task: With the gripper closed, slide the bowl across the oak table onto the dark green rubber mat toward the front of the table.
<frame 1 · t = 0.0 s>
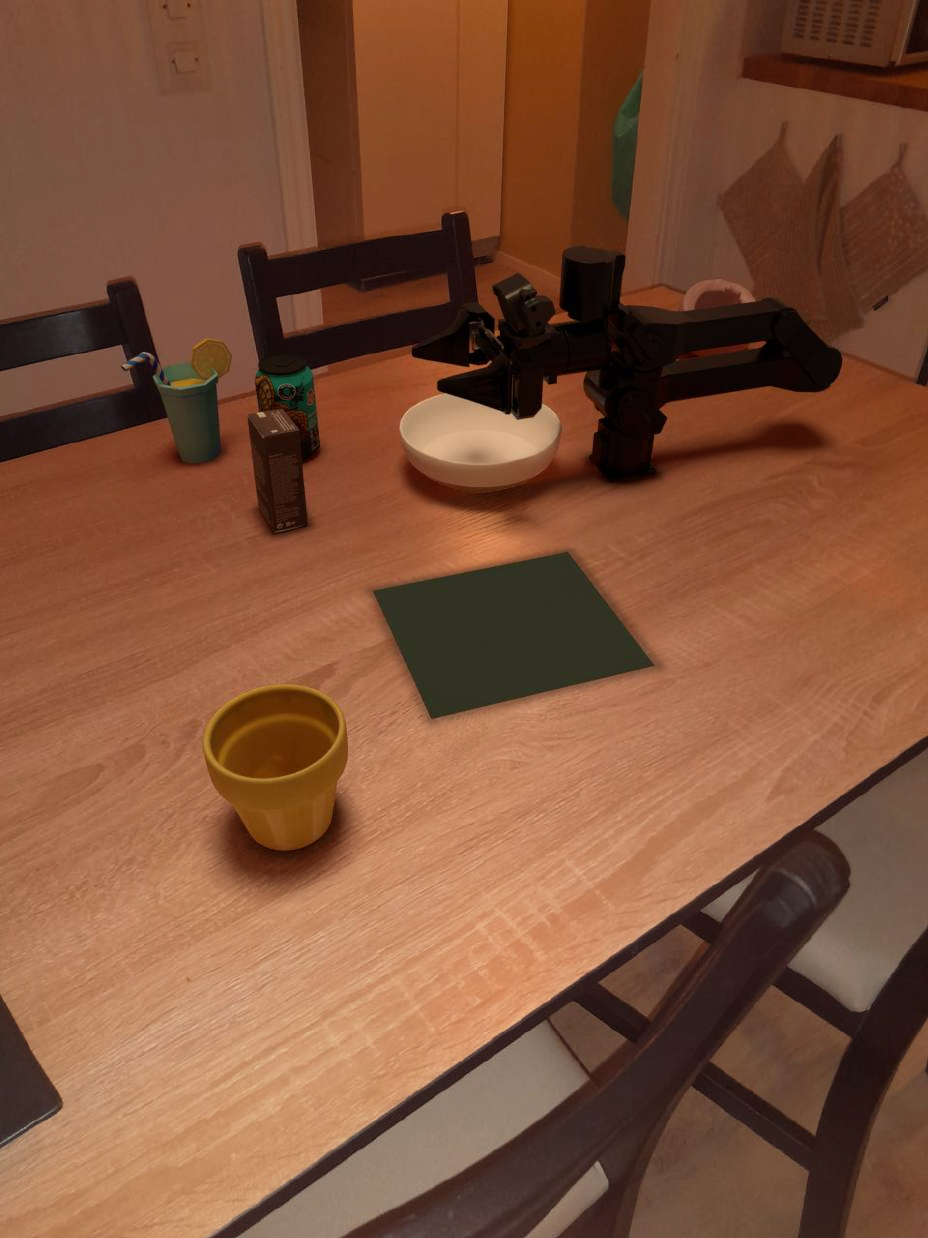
hand: (424, 368, 104), 17 cm above the table, tool horizontal, fingers open, 9 cm apart
cup: (194, 457, 122), on the table
mat: (506, 627, 96), on the table
bowl: (479, 471, 120), on the table
mortar and pestle: (711, 358, 147), on the table
box: (284, 518, 111), on the table
flower pot: (289, 819, 76), on the table
green cylinder: (293, 453, 123), on the table
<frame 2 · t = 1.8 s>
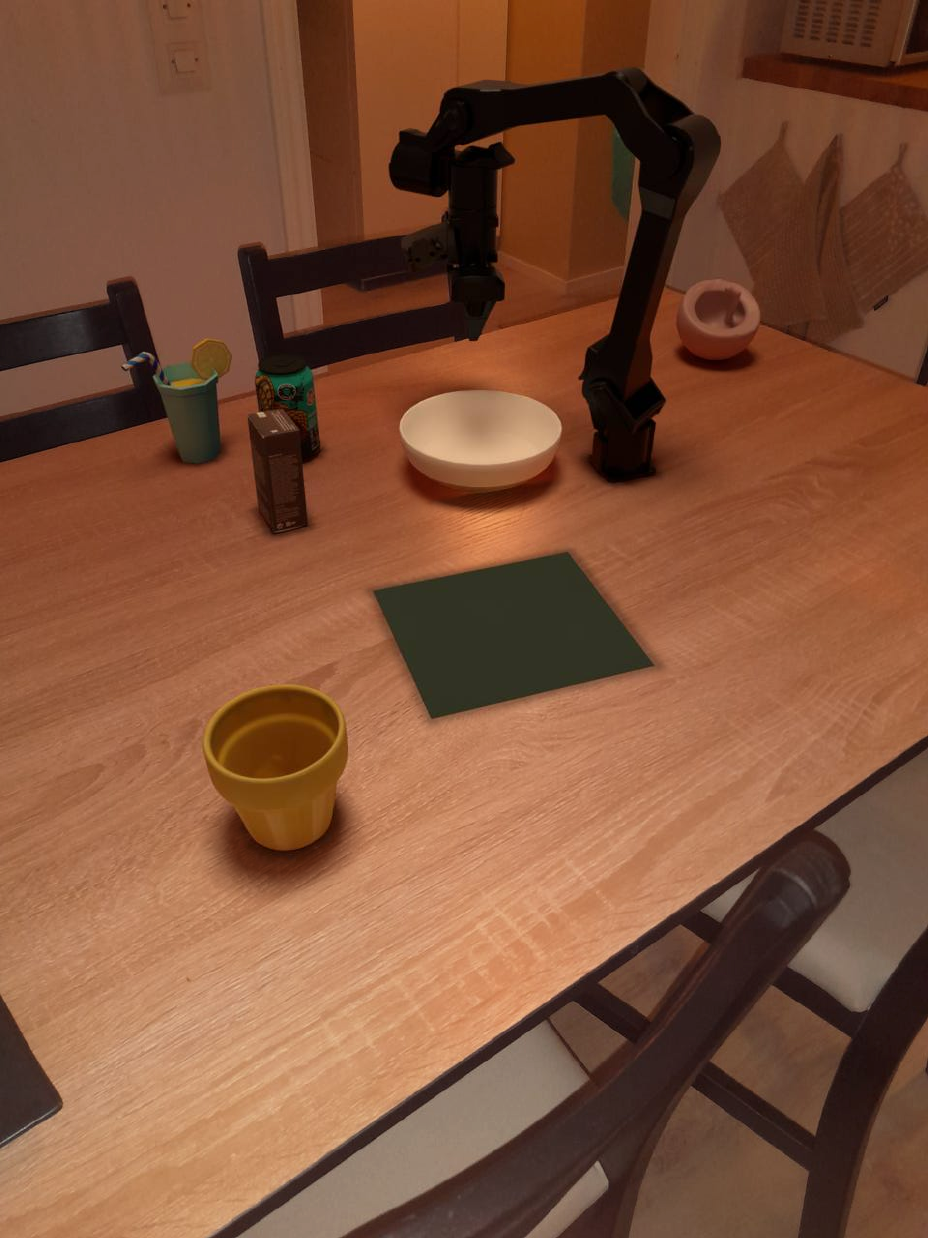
hand: (471, 332, 123), 12 cm above the table, tool pointing down, fingers open, 5 cm apart
nothing on the table moved.
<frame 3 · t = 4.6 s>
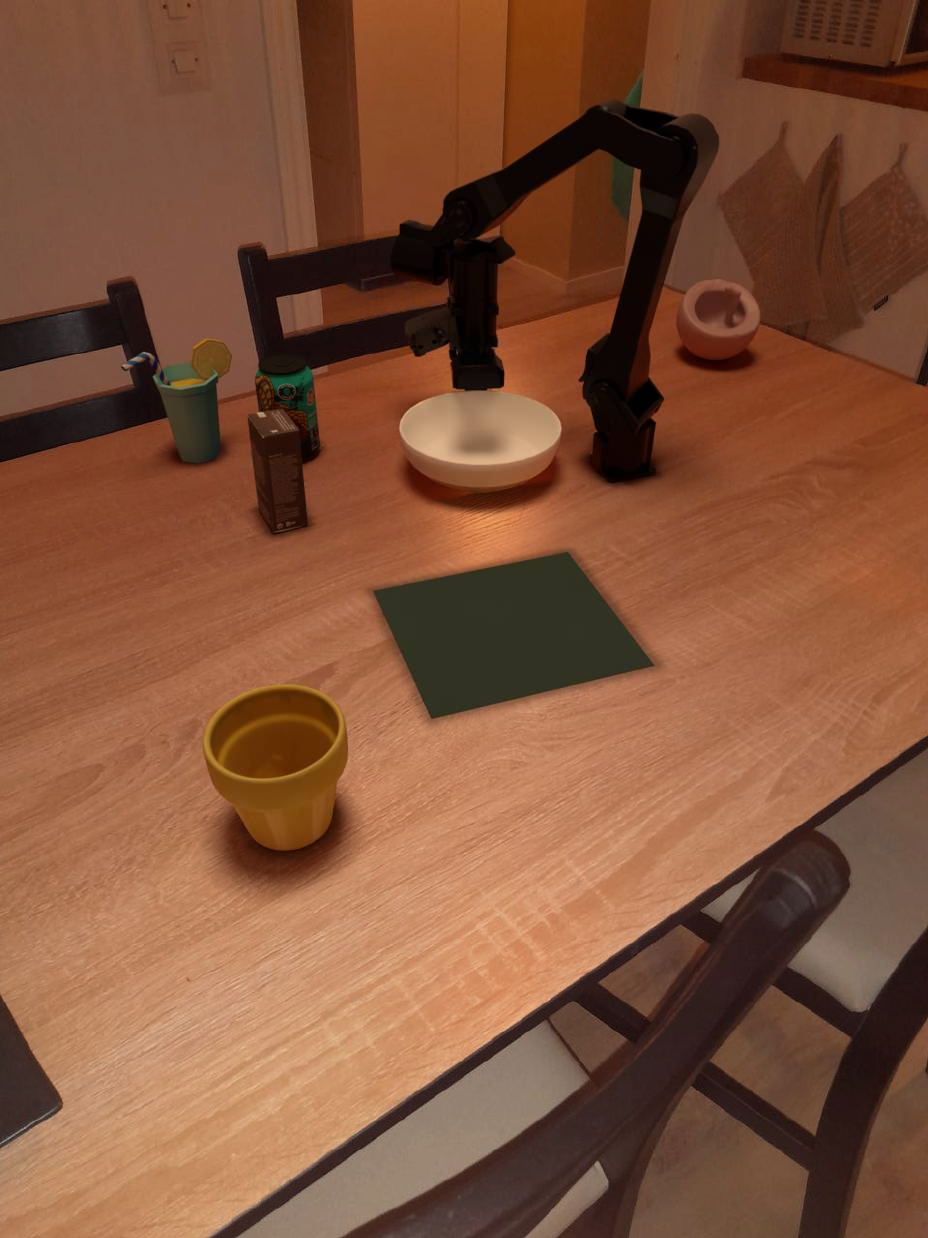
hand: (472, 408, 127), 2 cm above the table, tool pointing down, fingers closed
bowl: (479, 471, 120), on the table, touching gripper
everything else where it was.
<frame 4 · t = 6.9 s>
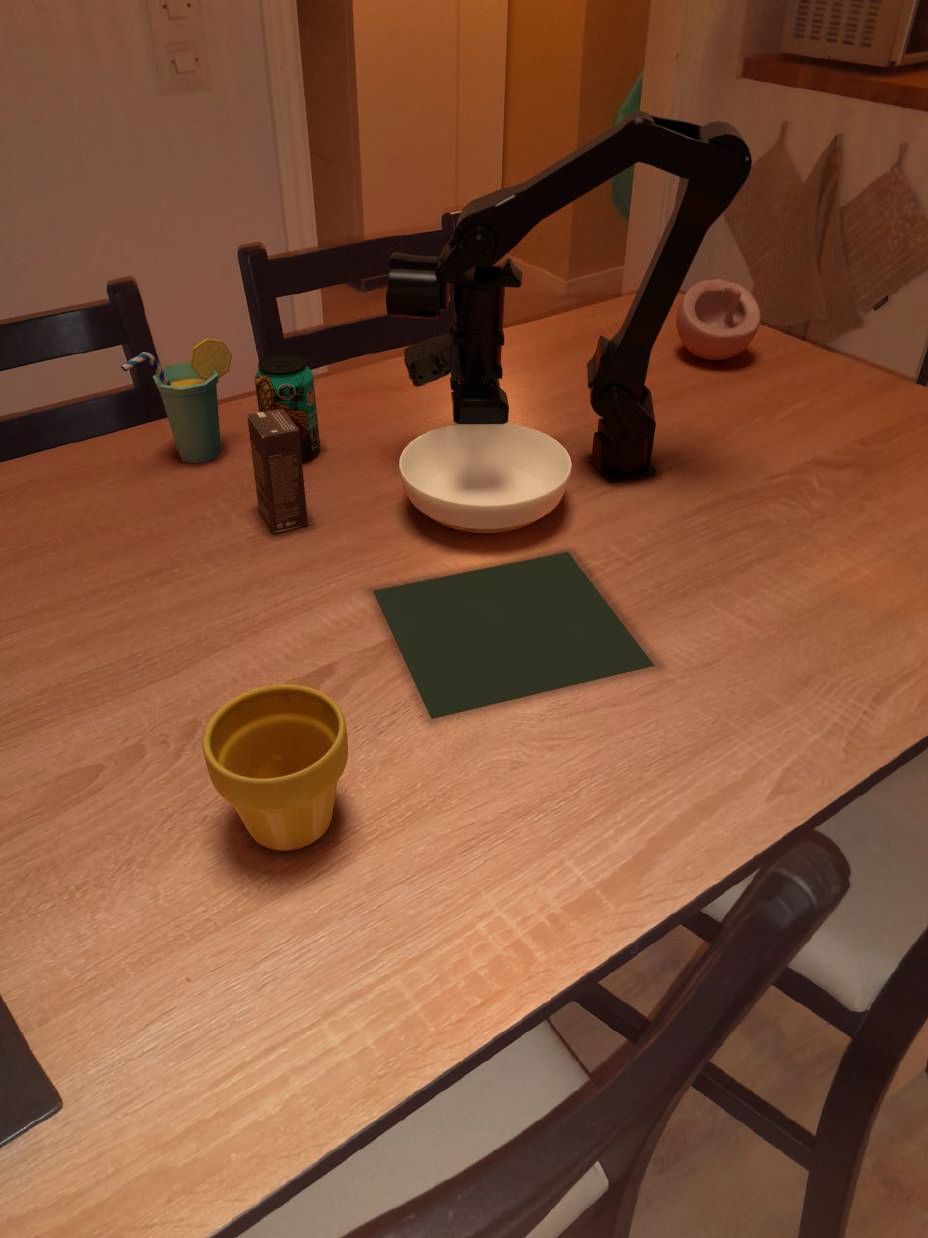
hand: (473, 440, 121), 2 cm above the table, tool pointing down, fingers closed
bowl: (484, 508, 113), on the table, touching gripper
everything else where it was.
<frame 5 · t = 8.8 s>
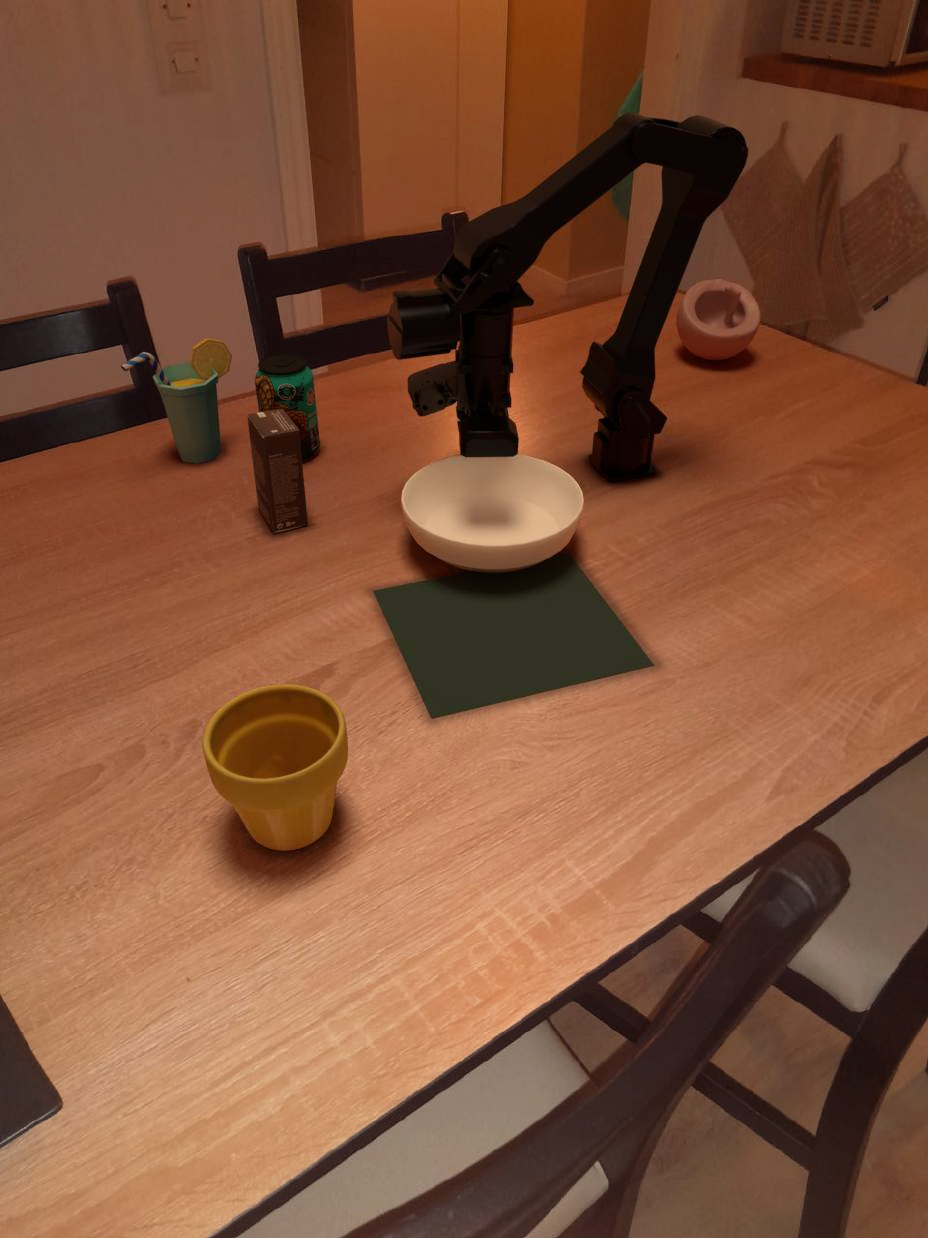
hand: (481, 471, 115), 2 cm above the table, tool pointing down, fingers closed
bowl: (491, 544, 107), on the table, touching gripper
everything else where it was.
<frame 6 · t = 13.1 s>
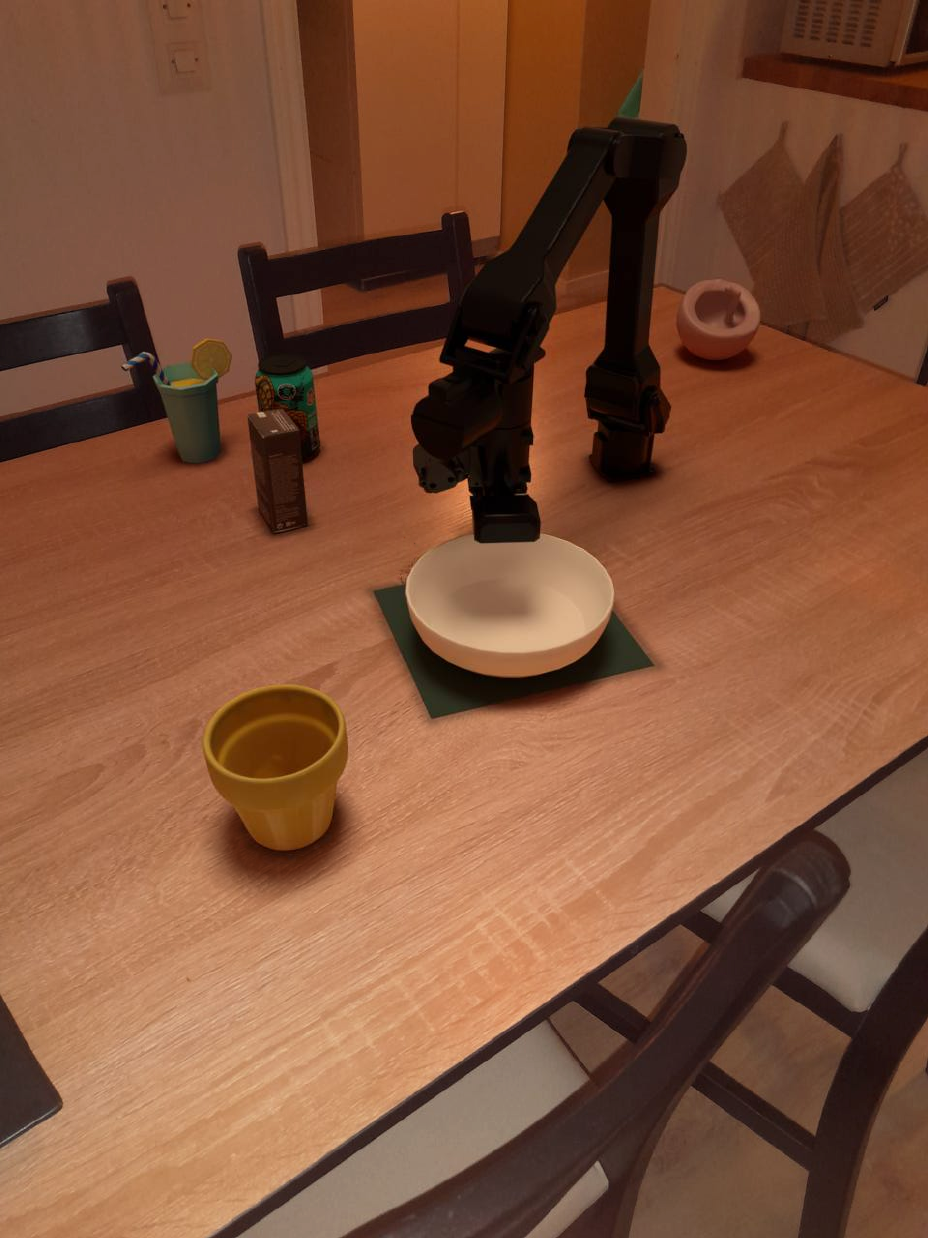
hand: (496, 548, 102), 2 cm above the table, tool pointing down, fingers closed
bowl: (507, 638, 94), on the table, touching gripper, mat
everything else where it was.
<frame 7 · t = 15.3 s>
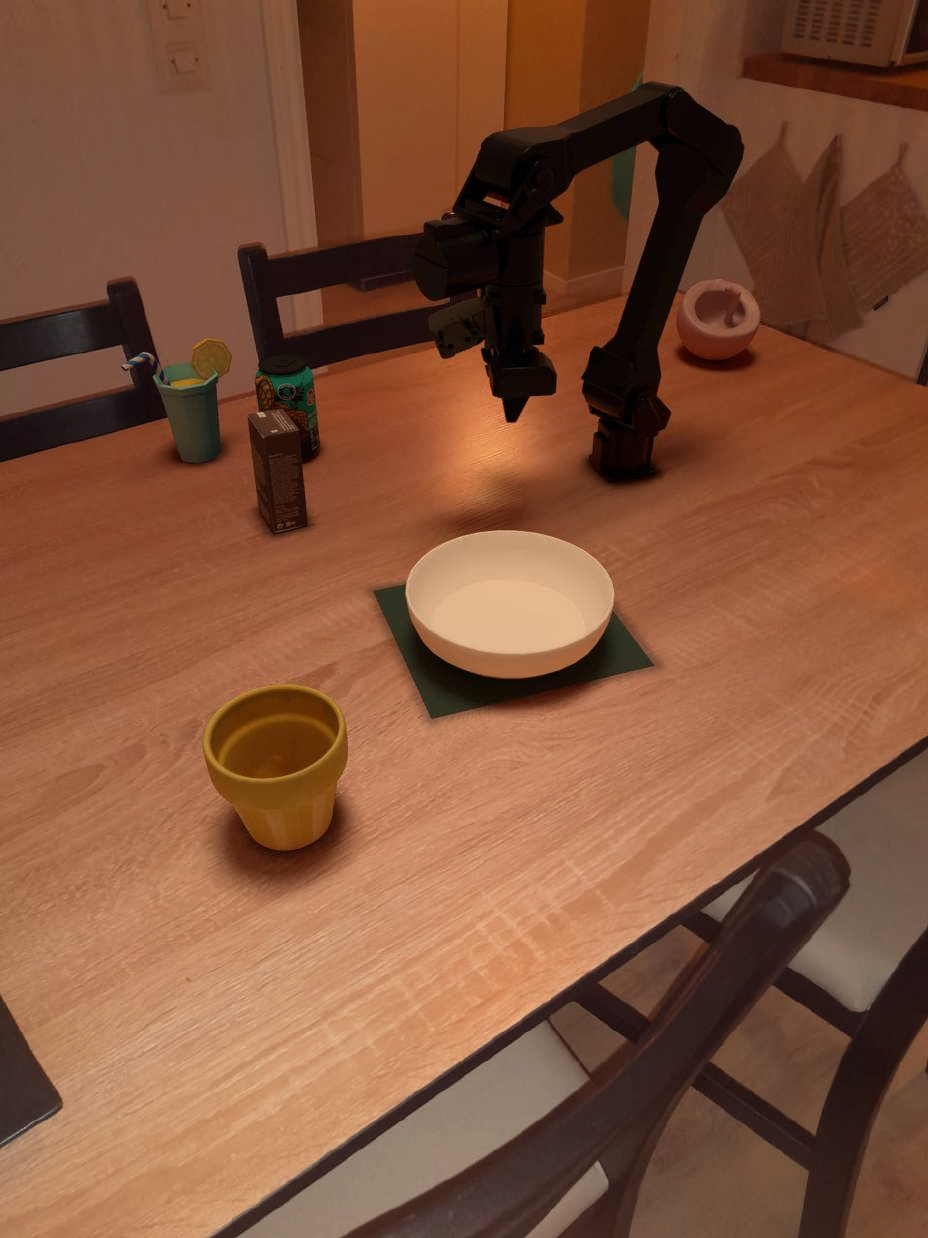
hand: (510, 421, 104), 12 cm above the table, tool pointing down, fingers closed
bowl: (507, 639, 94), on the table, touching mat
everything else where it was.
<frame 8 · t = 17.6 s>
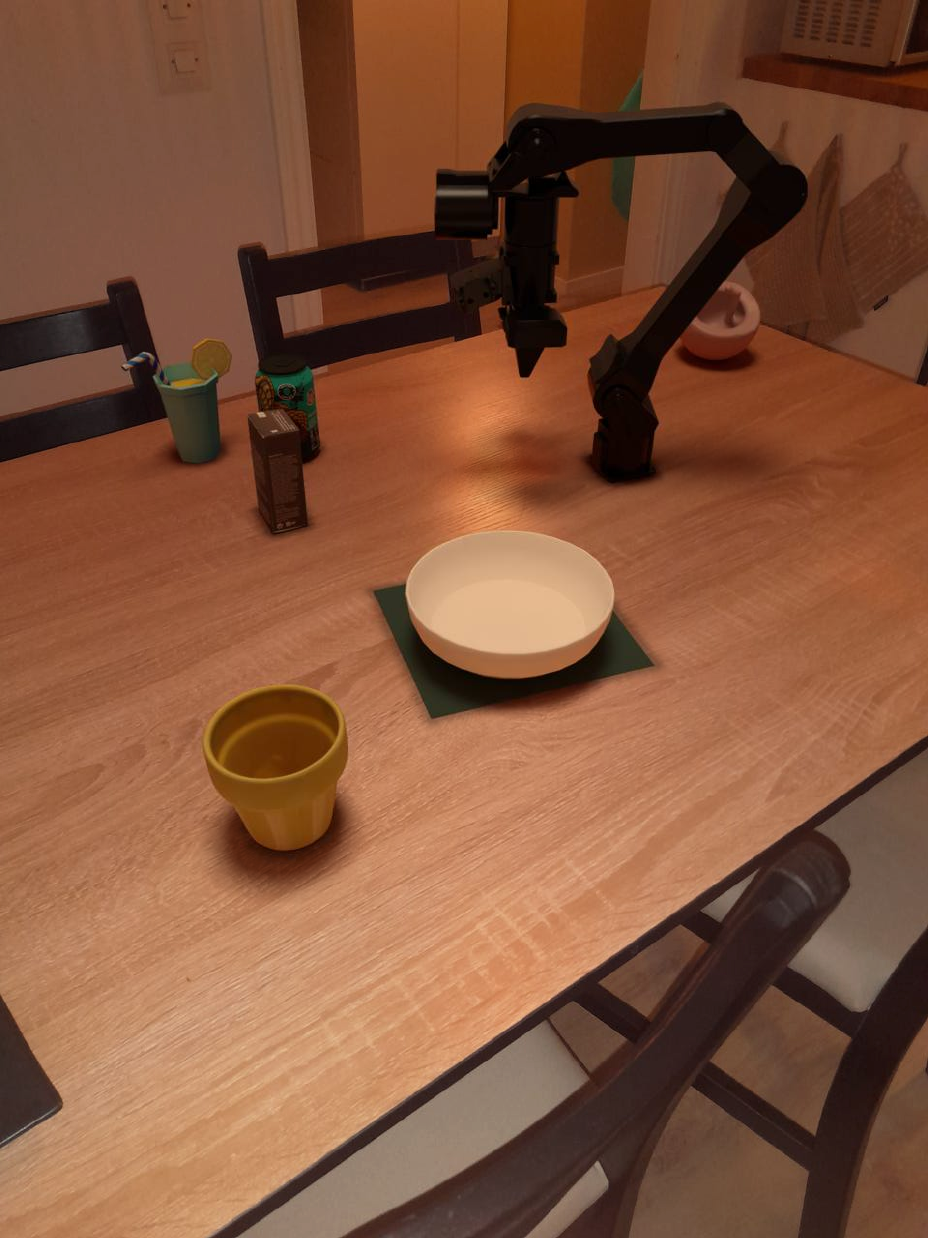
hand: (524, 376, 113), 12 cm above the table, tool pointing down, fingers closed
nothing on the table moved.
at the end: bowl inside the target area on the mat (1.8 cm from its centre), point 0.0 cm above the mat's base; bowl moved 32.9 cm from its start; bowl tilted 0° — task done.
